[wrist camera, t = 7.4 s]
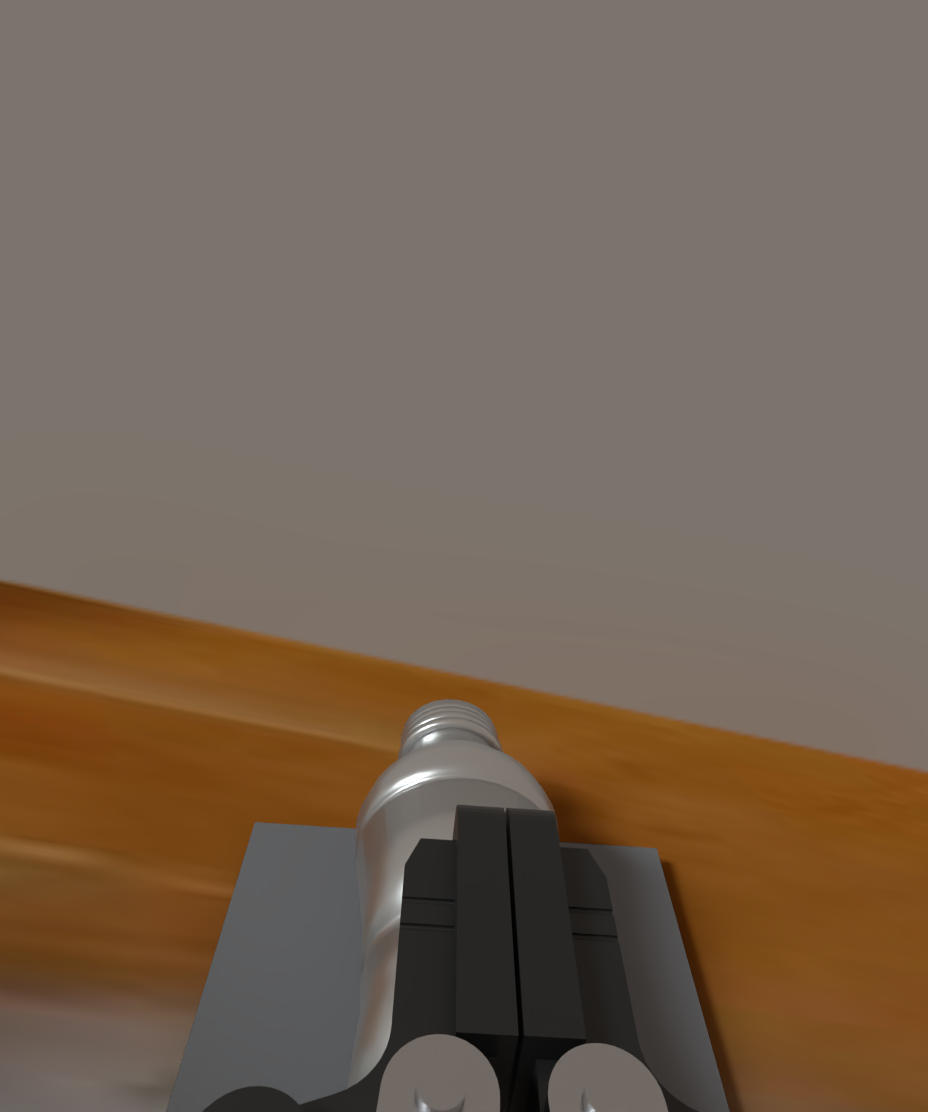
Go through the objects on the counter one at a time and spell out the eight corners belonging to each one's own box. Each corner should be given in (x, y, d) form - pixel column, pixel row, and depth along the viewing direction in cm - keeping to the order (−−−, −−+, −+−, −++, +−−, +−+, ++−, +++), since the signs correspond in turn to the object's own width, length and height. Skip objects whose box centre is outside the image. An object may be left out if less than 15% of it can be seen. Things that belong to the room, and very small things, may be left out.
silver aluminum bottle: (222, 1560, 13) (335, 777, 32) (596, 1601, 14) (494, 827, 33) (367, 1338, 11) (397, 639, 29) (789, 1411, 12) (564, 699, 31)
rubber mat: (109, 1324, 18) (101, 1284, 17) (255, 838, 30) (254, 801, 29) (782, 1350, 18) (804, 1312, 18) (652, 863, 31) (661, 828, 30)
